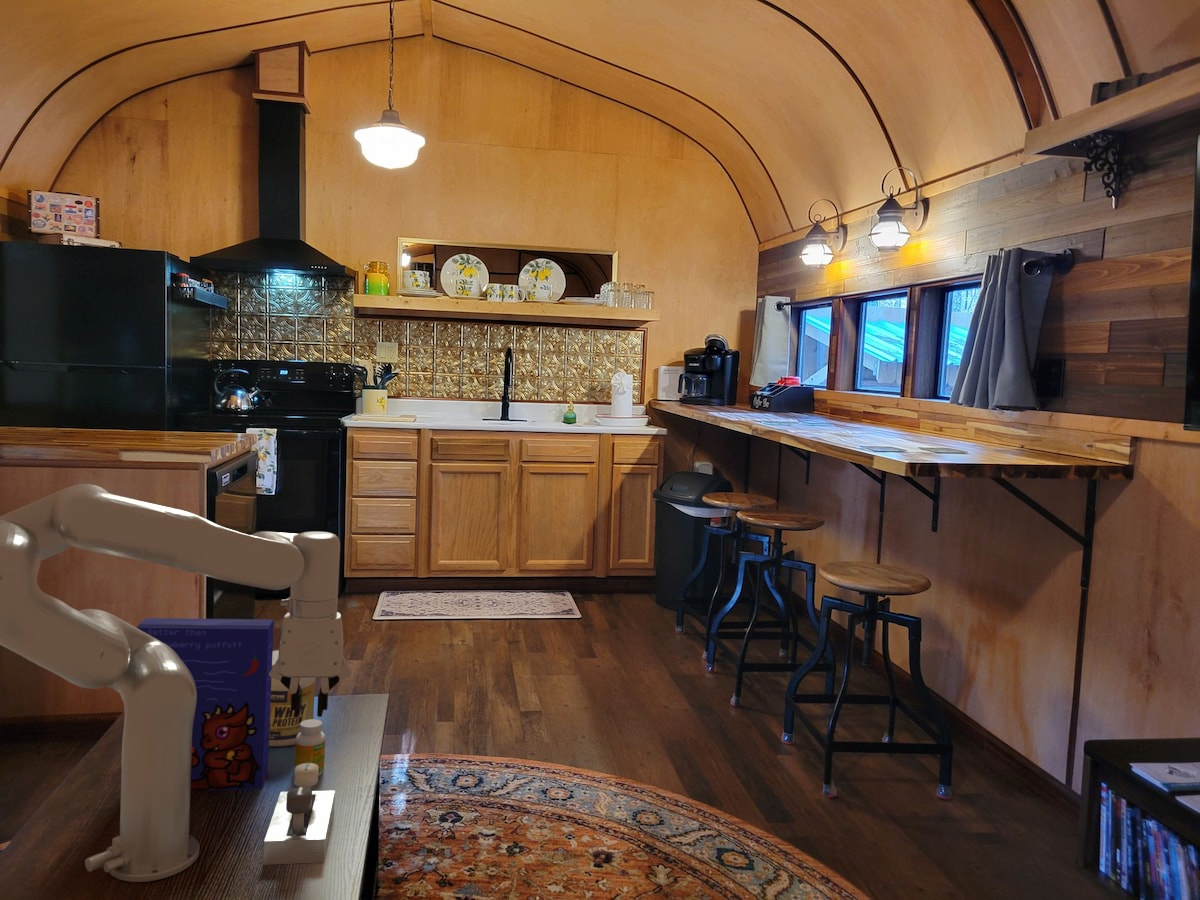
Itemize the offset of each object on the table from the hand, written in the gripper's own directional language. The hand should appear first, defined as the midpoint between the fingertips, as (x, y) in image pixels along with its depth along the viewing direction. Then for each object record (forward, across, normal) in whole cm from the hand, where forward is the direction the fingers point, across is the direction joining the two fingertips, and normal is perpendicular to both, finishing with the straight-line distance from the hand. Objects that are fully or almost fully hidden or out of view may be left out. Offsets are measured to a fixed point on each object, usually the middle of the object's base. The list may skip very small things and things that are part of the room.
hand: (309, 712), depth 146 cm
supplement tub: (+19, -9, +36) cm, 42 cm away
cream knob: (+16, 0, 0) cm, 16 cm away
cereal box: (+19, -20, +16) cm, 32 cm away
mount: (+19, 0, -4) cm, 20 cm away
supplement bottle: (+19, -2, +19) cm, 27 cm away
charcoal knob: (+16, 0, -9) cm, 18 cm away
